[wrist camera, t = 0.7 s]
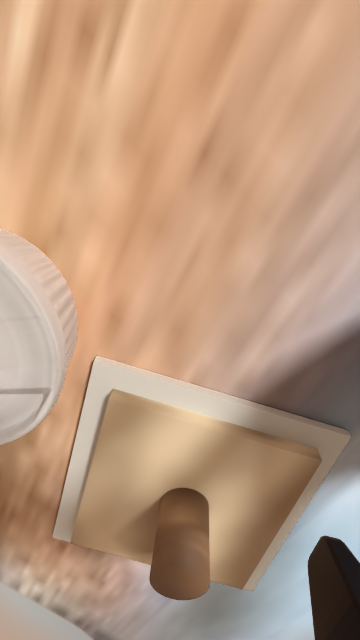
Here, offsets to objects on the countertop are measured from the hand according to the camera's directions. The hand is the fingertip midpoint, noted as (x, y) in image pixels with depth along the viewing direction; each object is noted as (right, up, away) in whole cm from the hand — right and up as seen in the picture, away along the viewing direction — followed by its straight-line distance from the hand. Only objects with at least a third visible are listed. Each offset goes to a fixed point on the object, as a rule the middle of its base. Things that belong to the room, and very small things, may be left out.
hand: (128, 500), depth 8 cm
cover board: (+2, -8, +15) cm, 17 cm away
